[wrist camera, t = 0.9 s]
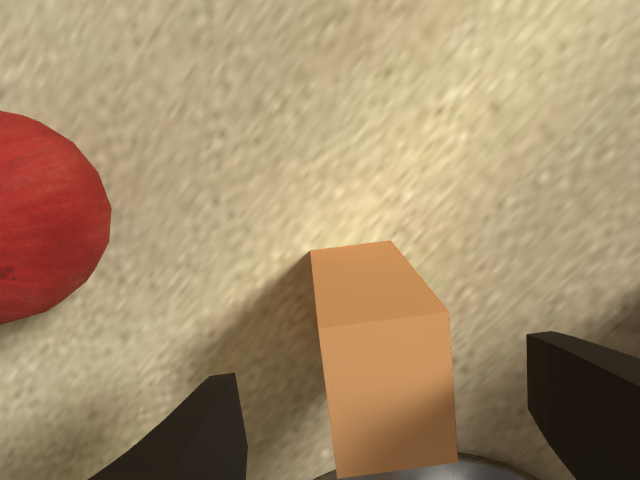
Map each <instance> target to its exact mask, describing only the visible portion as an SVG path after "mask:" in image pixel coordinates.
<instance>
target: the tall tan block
mask: <svg viewBox="0 0 640 480" xmlns="http://www.w3.org/2000/svg"><path fill="white" fill-rule="evenodd" d="M310 255H311V265H312V274H313V284H314V294H315V303H316V313H317V323H318V332H319V340H320V347H321V355H322V363H323V371H324V378H325V386H326V394H327V402H328V410H329V417H330V425H331V433H332V441H333V449H334V456H335V464H336V472H337V479H339V478H347V477H354V476H362V475H369V474H377V473H384V472H391V471H399V470H406V469H414V468H421V467H428V466H436V465H443V464H451V463H458V455H457V438H456V421H455V404H454V386H453V369H452V352H451V335H450V318H449V311H448V310H447V309H446V307H445V306H444V305H443V304H442V302H441V301H440V300H439V299H438V298H437V296H436V295H435V294H434V293H433V291H432V290H431V289H430V288H429V287H428V285H427V284H426V283H425V282H424V280H423V279H422V278H421V277H420V276H419V274H418V273H417V272H416V271H415V270H414V268H413V267H412V266H411V265H410V263H409V262H408V261H407V260H406V259H405V257H404V256H403V255H402V254H401V252H400V251H399V250H398V249H397V248H396V246H395V245H394V244H393V243H392V241H391V240H390V241H382V242H375V243H367V244H359V245H351V246H343V247H335V248H327V249H319V250H311V251H310Z"/></svg>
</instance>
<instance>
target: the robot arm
mask: <svg viewBox="0 0 640 480" xmlns="http://www.w3.org/2000/svg"><path fill="white" fill-rule="evenodd" d="M526 339H527V391H528V410H529V411H530V413H531V415H532V417H533V418H534V420H535V422H536V424H537V425H538V427H539V429H540V431H541V432H542V434H543V435H544V437H545V439H546V440H547V442H548V444H549V445H550V446H551V448H552V449H553V450H554V452H555V453H556V454H557V455H558V457H559V458H560V459H561V461H562V462H563V463H564V464H565V466H566V467H567V468H568V469H569V471H570V472H571V473H572V475H573V476H574V477H575V478H576V480H640V359H639V358H636V357H633V356H630V355H627V354H624V353H621V352H618V351H615V350H612V349H609V348H606V347H603V346H600V345H597V344H594V343H591V342H588V341H585V340H582V339H579V338H576V337H572V336H569V335H566V334H562V333H558V332H553V331H548V332H541V333H533V334H526ZM247 449H248V445H247V440H246V434H245V428H244V423H243V417H242V411H241V406H240V400H239V394H238V389H237V383H236V377H235V373H230V374H222V375H215V376H209V377H208V378H207V379H206V380H205V381H204V382H203V383H201V384H200V385H199V386H198V387H197V388H196V389H195V390H194V391H193V392H192V393H191V394H190V395H189V396H188V397H187V398H186V399H185V400H184V401H183V402H182V403H181V404H180V405H179V406H178V407H177V408H176V409H175V410H174V411H173V412H172V413H171V414H170V415H169V416H168V417H166V418H165V419H164V420H163V421H162V422H161V423H160V424H159V425H157V426H156V427H155V428H154V429H153V430H152V431H151V432H149V433H148V434H147V435H146V436H145V437H144V438H143V439H141V440H140V441H139V442H138V443H137V444H136V445H134V446H133V447H132V448H131V449H129V450H128V451H127V452H126V453H124V454H123V455H122V456H120V457H119V458H118V459H116V460H115V461H114V462H112V463H111V464H109V465H108V466H107V467H105V468H104V469H103V470H101V471H100V472H98V473H97V474H95V475H94V476H92V477H91V478H89V479H88V480H246V467H247Z"/></svg>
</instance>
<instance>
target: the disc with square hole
mask: <svg viewBox="0 0 640 480" xmlns="http://www.w3.org/2000/svg"><path fill="white" fill-rule="evenodd" d="M457 455H458V463H451V464H443V465H436V466H428V467H421V468H414V469H406V470H399V471H391V472H384V473H377V474H369V475H362V476H354V477H347V478H339V479H337V472H336V470H334V471H332V472H330V473H327V474H325V475H323V476H320V477H318V478H316V479H314V480H538V479H536V478H534V477H533V476H531V475H529V474H527V473H525V472H523V471H521V470H518V469H516V468H514V467H511V466H509V465H507V464H504V463H501V462H497V461H494V460H490V459H487V458H483V457H480V456H474V455H467V454H461V453H457Z"/></svg>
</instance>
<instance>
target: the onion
mask: <svg viewBox="0 0 640 480" xmlns="http://www.w3.org/2000/svg"><path fill="white" fill-rule="evenodd" d="M110 221H111V206H110V203H109V200H108V198H107V195H106V192H105V189H104V187H103V184H102V181H101V179H100V176H99V173H98V172H97V171H96V169H95V168H94V167H93V166H92V165H91V163H90V162H89V161H88V160H87V159H86V157H85V156H84V155H83V154H82V153H81V151H80V150H79V149H78V148H77V146H76V145H75V144H74V143H73V142H72V141H70V140H68V139H67V138H65V137H64V136H62V135H60V134H59V133H57V132H55V131H54V130H52V129H51V128H49V127H47V126H46V125H44V124H42V123H41V122H39V121H36V120H34V119H31V118H28V117H26V116H23V115H18V114H13V113H8V112H3V111H0V324H4V323H8V322H12V321H15V320H19V319H22V318H26V317H29V316H32V315H36V314H39V313H43V312H46V311H48V310H49V309H51V308H52V307H54V306H55V305H57V304H59V303H60V302H61V301H62V300H64V299H65V298H66V297H67V296H69V295H70V294H71V293H72V292H74V291H75V290H76V289H77V288H79V287H80V286H81V285H82V284H84V283H85V282H86V281H87V280H88V278H89V277H90V276H91V274H92V273H93V271H94V270H95V268H96V266H97V264H98V262H99V260H100V259H101V257H102V255H103V253H104V251H105V249H106V247H107V245H108V243H109V235H110Z"/></svg>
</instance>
